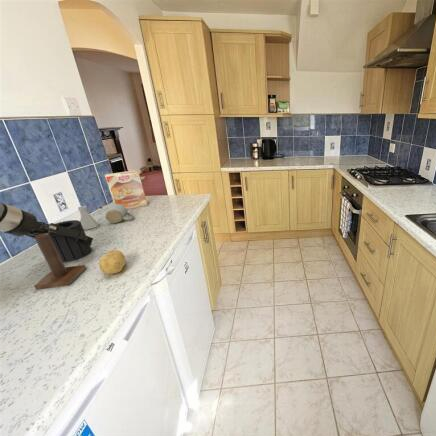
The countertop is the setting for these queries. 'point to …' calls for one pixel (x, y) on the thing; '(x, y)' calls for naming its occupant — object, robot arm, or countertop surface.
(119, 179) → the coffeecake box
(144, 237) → the countertop surface
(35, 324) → the countertop surface
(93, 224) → the flask
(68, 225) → the tape roll
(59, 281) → the peg
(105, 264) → the potato
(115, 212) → the ceramic mug
